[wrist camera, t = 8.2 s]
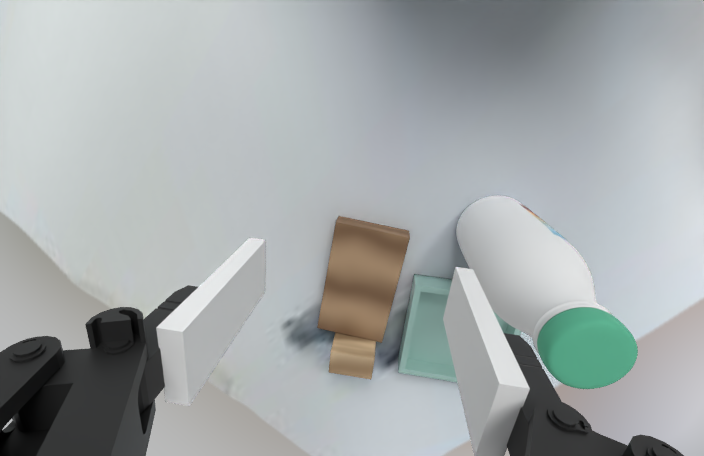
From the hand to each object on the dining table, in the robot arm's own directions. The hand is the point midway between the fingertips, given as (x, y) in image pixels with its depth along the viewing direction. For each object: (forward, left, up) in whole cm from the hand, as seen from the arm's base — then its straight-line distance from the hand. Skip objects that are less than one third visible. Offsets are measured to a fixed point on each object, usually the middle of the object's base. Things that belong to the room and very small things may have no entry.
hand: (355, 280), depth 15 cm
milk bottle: (+4, +13, -23) cm, 26 cm away
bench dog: (+21, 0, -22) cm, 31 cm away
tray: (+17, +12, -22) cm, 31 cm away
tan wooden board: (+12, 0, -23) cm, 26 cm away
